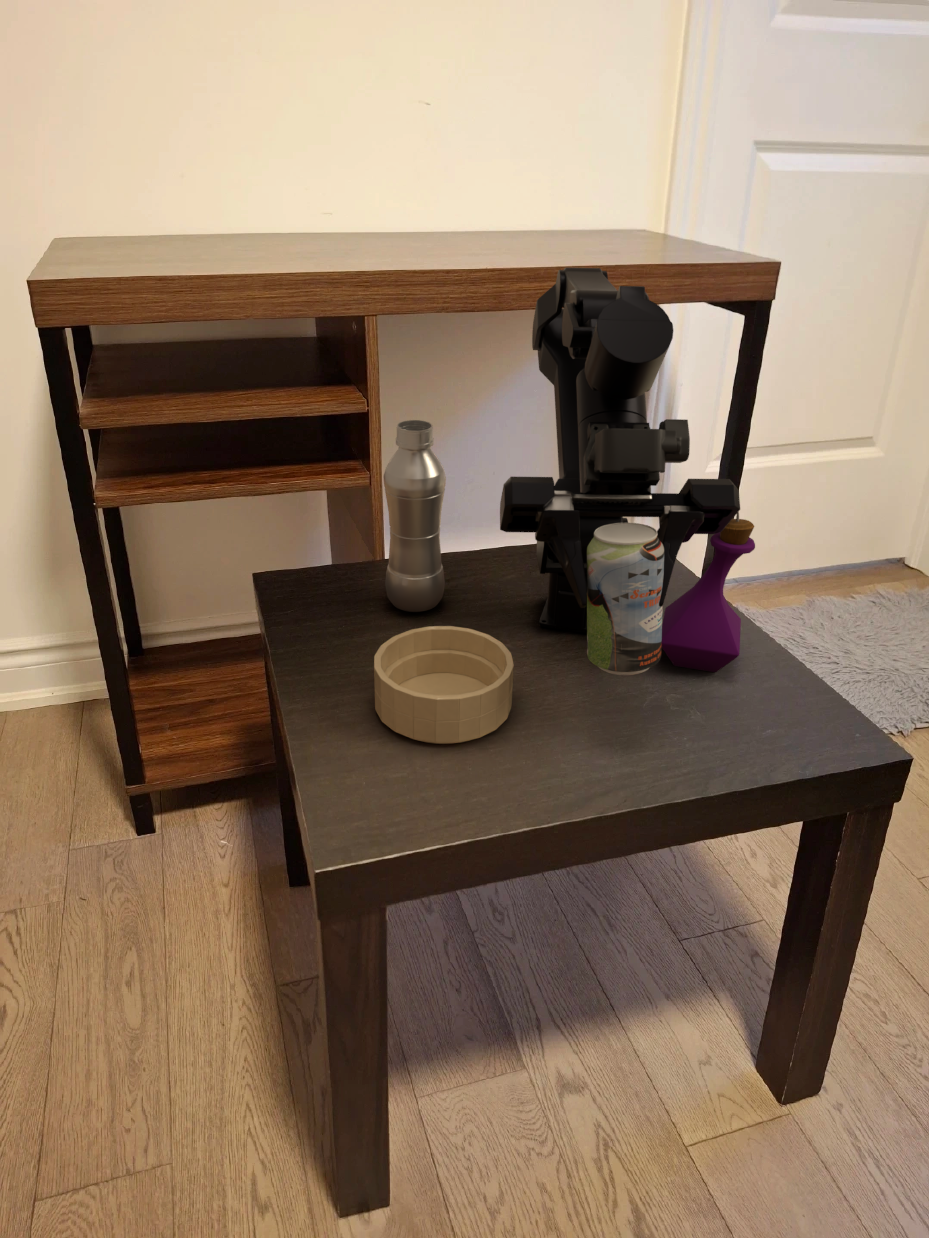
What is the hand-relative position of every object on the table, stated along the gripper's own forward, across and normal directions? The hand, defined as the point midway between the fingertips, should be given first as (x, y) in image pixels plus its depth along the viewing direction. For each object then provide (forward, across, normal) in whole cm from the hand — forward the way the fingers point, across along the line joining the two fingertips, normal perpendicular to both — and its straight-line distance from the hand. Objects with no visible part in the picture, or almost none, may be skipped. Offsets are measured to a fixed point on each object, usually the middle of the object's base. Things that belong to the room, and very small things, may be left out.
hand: (621, 606), depth 74 cm
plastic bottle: (-8, -17, +27) cm, 33 cm away
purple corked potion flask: (0, +11, +19) cm, 22 cm away
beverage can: (+3, 0, +6) cm, 7 cm away
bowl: (+6, -14, +13) cm, 20 cm away
